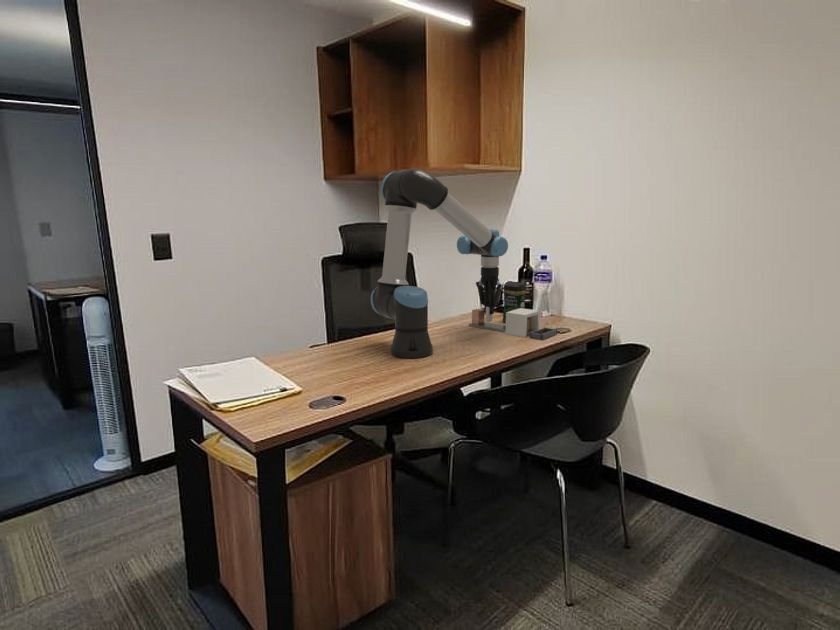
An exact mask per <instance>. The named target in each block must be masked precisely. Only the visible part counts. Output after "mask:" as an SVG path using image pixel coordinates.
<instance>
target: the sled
mask: <svg viewBox="0 0 840 630" xmlns="http://www.w3.org/2000/svg"><path fill="white" fill-rule="evenodd" d="M468 327H472V328H477V329H485V330H490V331H494V332H496V331H497V332H503V333H506V324H505V325H504V324H499V323H493V322H486V321H485V308H484V309H483V308H475V309H471V323H468ZM531 332H534V330H531V318H527V336H528V335H529V336H530V333H531Z"/></svg>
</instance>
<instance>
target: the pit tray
mask: <svg viewBox="0 0 840 630" xmlns="http://www.w3.org/2000/svg"><path fill="white" fill-rule="evenodd" d="M557 332H558V329H556V328H550V327H543V328H539V330H537V331H534V332H531V333H530V334H529V339H532V340H538V341H545V340H546V339H550V338H552V337H554V336H557V335H558V333H557Z"/></svg>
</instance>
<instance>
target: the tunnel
mask: <svg viewBox="0 0 840 630" xmlns="http://www.w3.org/2000/svg"><path fill="white" fill-rule="evenodd" d="M540 313H541V310H538V309H537V310H536V309H531V308H525V309H523V308H519V309H516V310H512V311H509V312H506V323H505V326H506V332H505V335H510V336H515V337H521V338H527V336H528V335H527V318H531V330H534V331H537V330H539V329H540V320H541V319H540V317H541V316H540V315H541V314H540Z"/></svg>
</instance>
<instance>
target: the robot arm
mask: <svg viewBox="0 0 840 630" xmlns="http://www.w3.org/2000/svg"><path fill="white" fill-rule="evenodd" d="M380 190H381V192H380V193H381V196H382V197H383V199H384V208H385V209H386V210H387V211H388V212H387V214H388V215H387V225H386V234H385V245H384V255H383V266H382V273H381V274H382V276H381V277H380V278H379V279H378V280H377V286H376V287H375V288H374V289H373V290H372V291H371V295H370V304H371V307H372V310H374V312H375V313H377V314H378V315H380V316H381V317H383V318H386V319H387V318H388V319H391V320H393V321H394V335H393V339H392V342H391V345H390V354H391V355H392V356H393V357H397V358H399V359H400V358H401V359H421V358H426V357H428V356H431V355H433V354H434V346H433V344H432V341H431V337H430V334H429V331H428V328H429V321H428V320H429V319H428V318H429V315H428V314H429V312H428V310H429V309H428V308H429V306H428V305H429V298H428V293H427V291H426V290H425V289H424V288H422V287H420V286H412V285H409V282H408V281H407V280H406V272H407V264H408V263H407V262H408V256H409V255H408V254H409V243H410V233H411V223H412V216H413V213H414V212H416V211H417V207H418V206H417V205H418V204H420V205H422V206H425V207H427V208H428V210H430V211H435V212H437V213H438V215H440V216H441V217H443V218H444V219H445V220H446V221H447V222H448V223H450V224H451V225H452V226H453V227H454V228H456V229H457V230H458V231H459V233H462V235H460V236H459V237H458V239H457V241H456V249H457V251H458V253H460V255H461V254H462V255H467V256H468V255H479V256H480V266H481V267H480V276H481V277H480V280H479V281H476V282H475V286H476V287H477V291H478V297H479V298H478V299H479V302H480V303H479V304H480V305H483V306H484V309H485V312H484V315H485V322H486V323H492V322H493V315H494V313H495V307H496V306H498V305H499V303H500V298H501V293H502V289H504V284H505V283H501V282H500V279H499V274H500V267H499V265H500V257H502V256H504V255H506V253H507V251H508V249H509V242H508V240H507V239H506V238H505V237H504V236H500V231H499V230H498V229H497V228H495V229H493V228H492V229H491V228H490V229H489V228H488V227H486V225H485V224H484V223H482V222H481V221H480V220H479V219H478V218H477V217H475V216H474V214H472V213H471V212H470V211H469V210H468V209H467V208H466V207H465V206H463V204H461V203H460V202H459V201H458V200H457V199H456V198H455V197H454V196H452V195H451V194H450V193H449V191H450V190H449V188H448V187H447V186H446V185H445V184H444V183H443V182H441V181H440V180H439V179H437V177H435V176H434V175H432V174H431V173H429V172H427V171H426V170H423V169H421V168H409V169H398V170H395V171H392V172H390V173H388V174H387V175H386V176H385V177H384V178H383V179H382V181H381V185H380Z"/></svg>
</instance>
